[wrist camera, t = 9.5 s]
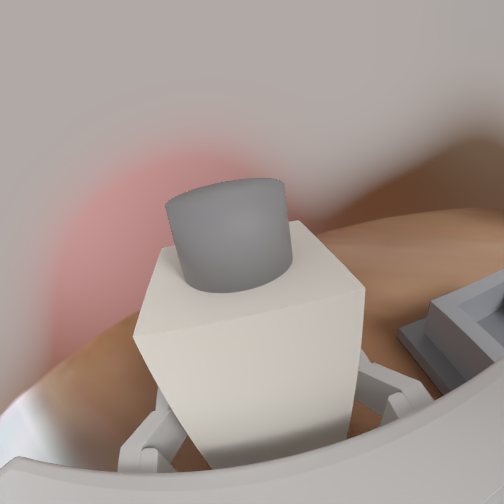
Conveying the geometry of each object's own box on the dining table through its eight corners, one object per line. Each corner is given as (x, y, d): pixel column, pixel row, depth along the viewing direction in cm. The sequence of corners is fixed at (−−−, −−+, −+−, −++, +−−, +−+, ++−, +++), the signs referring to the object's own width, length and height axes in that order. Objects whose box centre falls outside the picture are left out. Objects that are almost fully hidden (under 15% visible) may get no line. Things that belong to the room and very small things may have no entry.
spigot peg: (311, 413, 15) (292, 165, 10) (336, 481, 11) (365, 195, 5) (229, 431, 15) (147, 193, 9) (239, 503, 10) (97, 249, 5)
